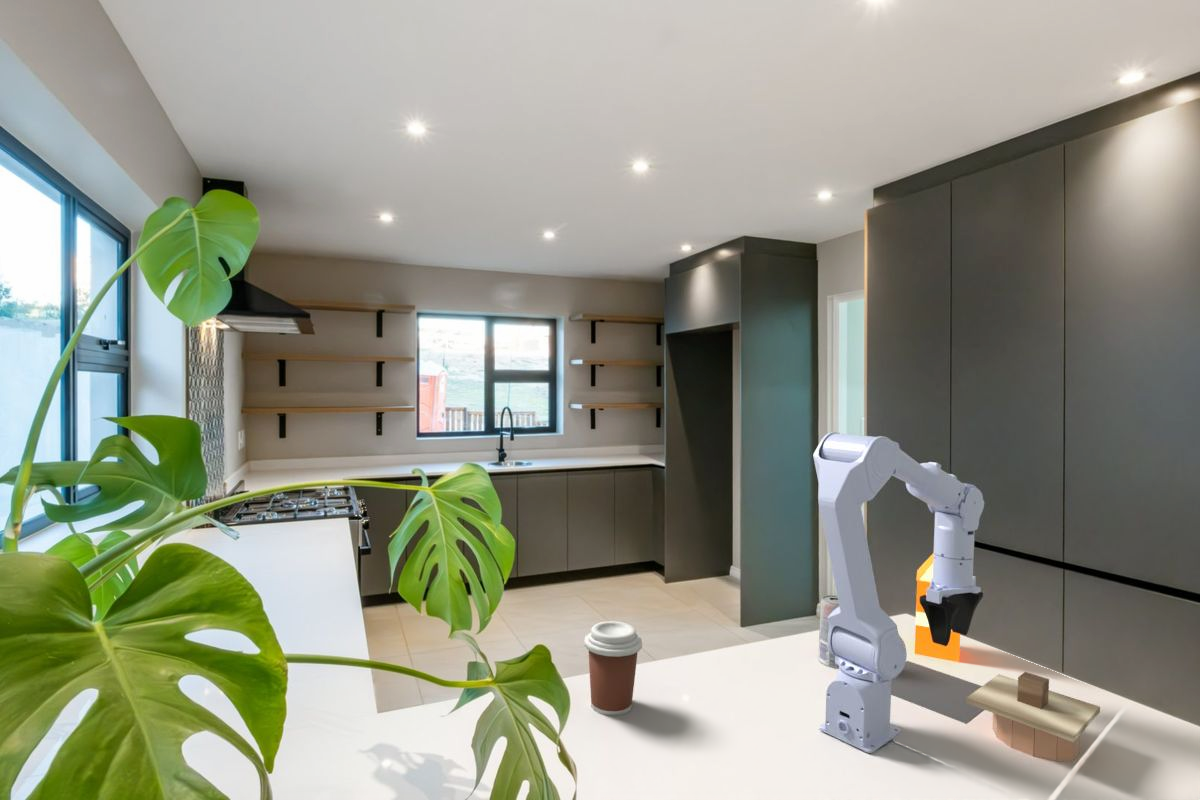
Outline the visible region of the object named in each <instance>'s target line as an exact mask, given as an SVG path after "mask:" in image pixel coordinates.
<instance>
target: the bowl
mask: <svg viewBox="0 0 1200 800" xmlns="http://www.w3.org/2000/svg"><path fill="white" fill-rule="evenodd" d="M991 729H992V732H993V733H994V735H995V737H996V738H997V739H998V740H999V741H1001V742H1003V743H1004V745H1006V746H1008V747H1009V748H1011V749H1014V750H1016V751H1018V752H1021V753H1023V754H1026V755H1028V756H1031V757H1034V758H1039V759H1044V760H1049V761H1054V762H1061V761H1073V760H1075V758H1076V757H1077V756H1078V755H1079V753H1080V736H1081V735H1080V736H1079V737H1078V738H1077V739H1076V740H1075V741H1074V742H1072V741H1069V740H1066V739H1064V738H1061V737H1058V736H1055V735H1053V734H1050V733H1047V732H1044V731H1042V730H1039V729H1036V728H1033V727H1031V726H1028V725H1025V724H1022V723H1020V722H1017V721H1014V720H1012V719H1009V718H1006V717H1003V716H1001V715H998V714H995V713H992V728H991Z"/></svg>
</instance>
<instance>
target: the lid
mask: <svg viewBox="0 0 1200 800" xmlns="http://www.w3.org/2000/svg"><path fill="white" fill-rule="evenodd" d="M981 686H982V687H980V688H979V689H978V690H976V691H975V692H974V693H972V694H971V695H969V696H968V697H967V698H966V703H968V704H970V705H973V706H976V707H979V708H981V709H984V710H983V711H987V712H990V713H992V714H993V713H995V714H998V715H1001V716H1003V717H1006V718H1009V719H1012V720H1014V721H1017V722H1020V723H1022V724H1025V725H1028V726H1031V727H1033V728H1036V729H1039V730H1042V731H1044V732H1047V733H1050V734H1053V735H1055V736H1058V737H1061V738H1064V739H1066V740H1069V741H1072V742H1074V741H1075V740H1076V739H1077V738H1078V737H1079V736H1081V735H1082V733H1083V732H1085V730H1086V729H1087V727H1088V726H1090V724H1091V723H1092V722H1093V721H1094V720H1095V718H1096V717H1097V716H1098V715H1099V714H1100V713H1101V707H1100V706H1098V705H1096V704H1093V703H1089V702H1086V701H1084V700H1080V699H1078V698H1074V697H1071V696H1067V695H1064V694H1061V693H1059V692H1055V691H1053V690H1049V688H1050V679H1049V678H1047V677H1044V676H1040V675H1036V674H1034V673H1031V672H1027V671H1024V672H1023V673H1022V674H1019V676H1018V677H1017V679H1015V678H1013V677H1008V676H1005V675H1002V674H1000V673H999V674H997V675H996V676H995V677H993V678H992V679H990V680H989V681H987V682H986V683H985V684H984V685H981ZM1079 738H1080V737H1079Z"/></svg>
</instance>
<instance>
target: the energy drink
mask: <svg viewBox="0 0 1200 800" xmlns="http://www.w3.org/2000/svg"><path fill="white" fill-rule="evenodd" d="M837 607H839V602H838V597H837V595H832V594H830V595H829V594H827V595H824V596H822V597H821V600H820V614H819V637H818V638H819V639H818V640H819V641H818V662H819V663H820V664H821V665H823V666H825V667H828V668H831V669H836V670H837V669H838V670H839V665H838V664H836V663H835V655H833V654H832V653H831V651H830V650H829V647H828V632H829V623H828V616H829V615H830V614H831V613H832V611H834V610H835V609H836V608H837Z"/></svg>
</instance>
